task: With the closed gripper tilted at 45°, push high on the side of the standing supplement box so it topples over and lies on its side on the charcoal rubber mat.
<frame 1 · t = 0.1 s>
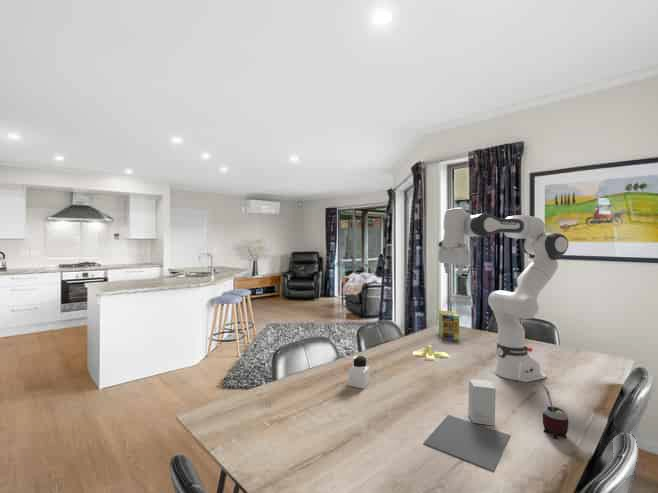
hand: (453, 274, 153), 48 cm above the table, tool pointing down, fingers open, 8 cm apart
supplement box: (481, 419, 119), on the table, touching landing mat
banana bunch: (428, 355, 188), on the table
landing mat: (467, 439, 107), on the table
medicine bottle: (358, 384, 148), on the table
mate gourd: (553, 434, 111), on the table
protein box: (448, 336, 224), on the table
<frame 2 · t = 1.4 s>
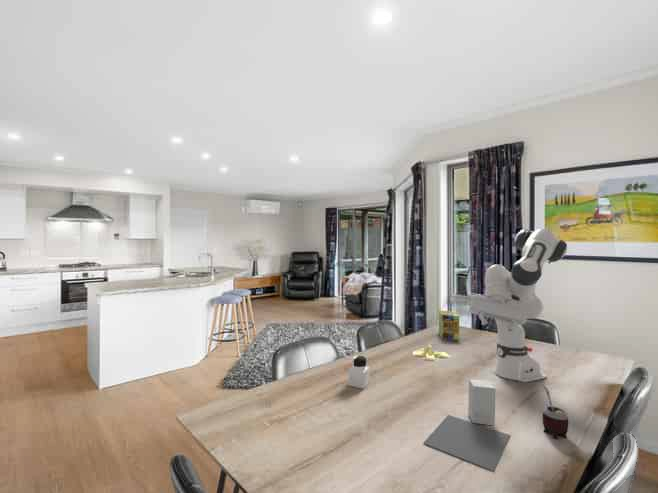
hand: (497, 327, 127), 31 cm above the table, tool tilted 45°, fingers open, 8 cm apart
nothing on the table moved.
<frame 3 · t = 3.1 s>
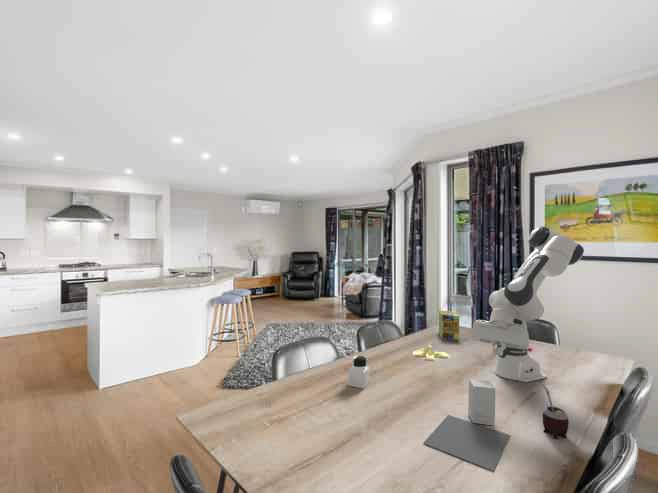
hand: (496, 353, 128), 20 cm above the table, tool tilted 45°, fingers closed
nothing on the table moved.
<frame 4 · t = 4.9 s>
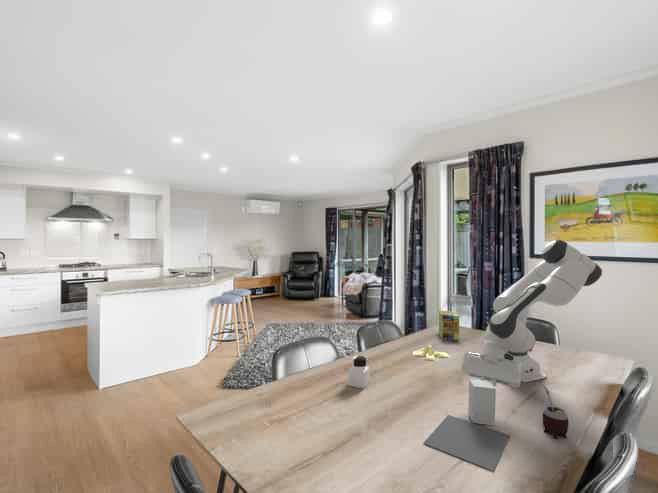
hand: (486, 390, 123), 8 cm above the table, tool tilted 45°, fingers closed
supplement box: (481, 419, 119), on the table, touching gripper, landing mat
everything else where it was.
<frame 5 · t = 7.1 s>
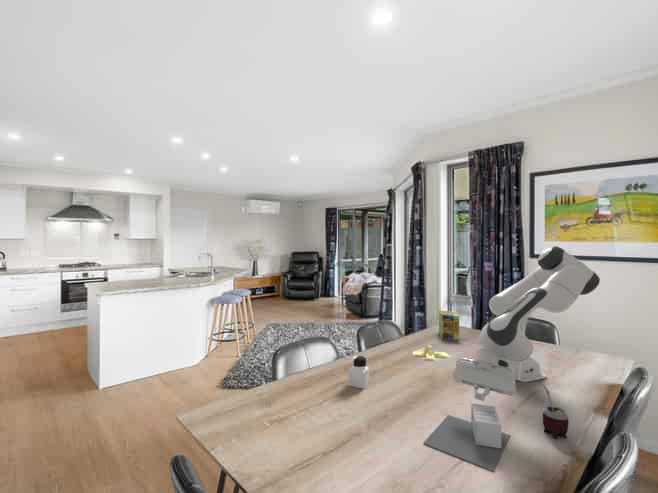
hand: (479, 399, 116), 8 cm above the table, tool tilted 45°, fingers closed
supplement box: (482, 414, 115), point 4 cm above the table, touching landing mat
everything else where it was.
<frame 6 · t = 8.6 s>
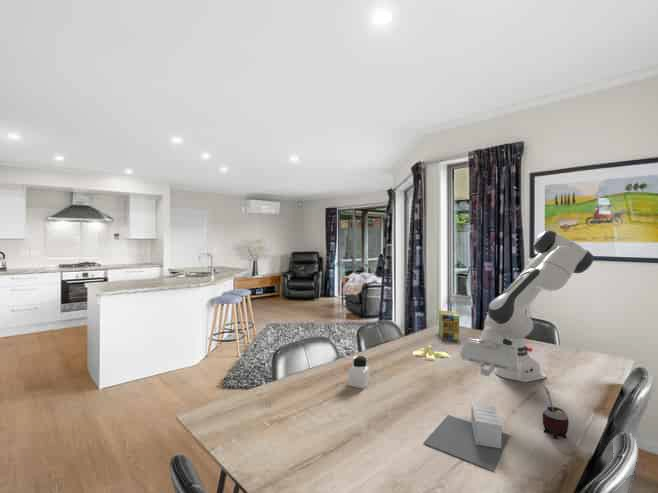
hand: (484, 374, 126), 13 cm above the table, tool tilted 45°, fingers closed
nothing on the table moved.
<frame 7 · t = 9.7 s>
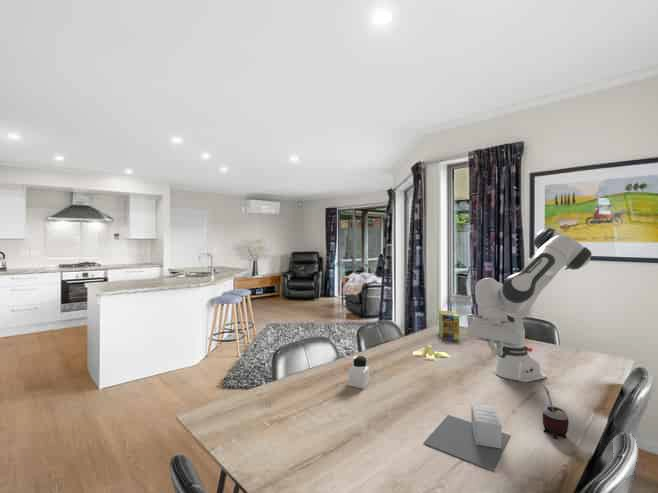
hand: (497, 354, 122), 22 cm above the table, tool tilted 35°, fingers closed
nothing on the table moved.
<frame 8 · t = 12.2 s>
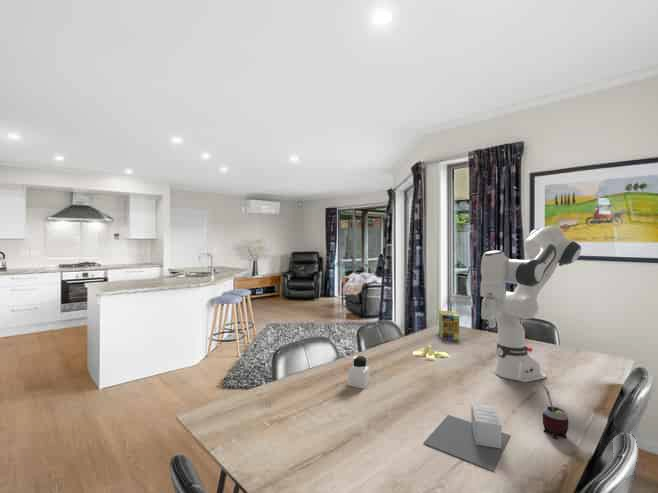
hand: (492, 327, 133), 29 cm above the table, tool pointing down, fingers closed
nothing on the table moved.
at the end: supplement box tilted 90°; supplement box touching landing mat; supplement box inside the target area (1.8 cm from its centre), point 4.0 cm above the table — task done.
